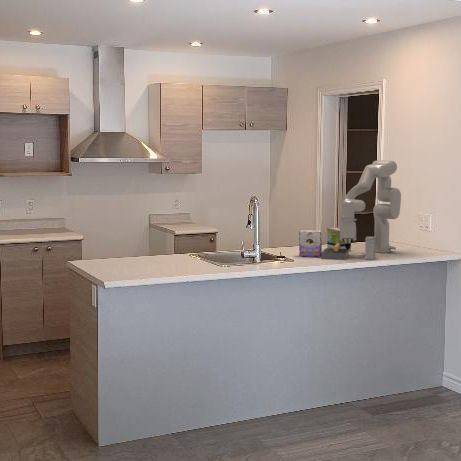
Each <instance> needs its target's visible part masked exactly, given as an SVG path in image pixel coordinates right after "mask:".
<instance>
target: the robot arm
mask: <svg viewBox="0 0 461 461" xmlns="http://www.w3.org/2000/svg"><path fill="white" fill-rule="evenodd" d="M397 169H398V164H397V162H396V161H394V160H380V159H379V160H374V161H372V163H371V164H367V165H366V166H365V167H364V169H363V171H362V174H361V176H360V178H359V181H358V183H357V184H356V185H354V186H353V187H352V188H351V189H350V190H349V191H347V193H346V194H345V195H346V196H345V198H344V200H343V201H342V203H341V222H340V226H339V227H340V238H339V240H342V241H344V242H345V248H346V250H347V249H348V250H349V248H350V243H351V244H352V242H353V241H357V224H356V221H357V218H355V213H357V212H358V213H361V212H362V211H364V210H365V209H366V206H367V205H366V202H365V201H364V200H362V199H356V197H357V196H358V197H359V195H362V194H364V193H366V192H368V191H370V190H371V188H372V186H373V184H374V181H375V179H377V191H376V192H377V193H376V198H377V200H378V201H379V202H383V203H377V204H375V205H374V207H373V218H374V236H373V237H375V253H378V254H379V253H380V254H381V253H382V254H385V253H391V252H392V250H397V246H394V245H393V246H392V245H391V244H390V222H389V221H388V220H396V219H398V218H399V216H400V213H401V206H402V205H401V203H402V192H401V190H400V189H399V188H397V187H392V178H391V176H392V175H394V174H395V173H396V172H397ZM388 203H389V204H388ZM343 238H344V239H343ZM347 238H349V242H348V243H347Z"/></svg>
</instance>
